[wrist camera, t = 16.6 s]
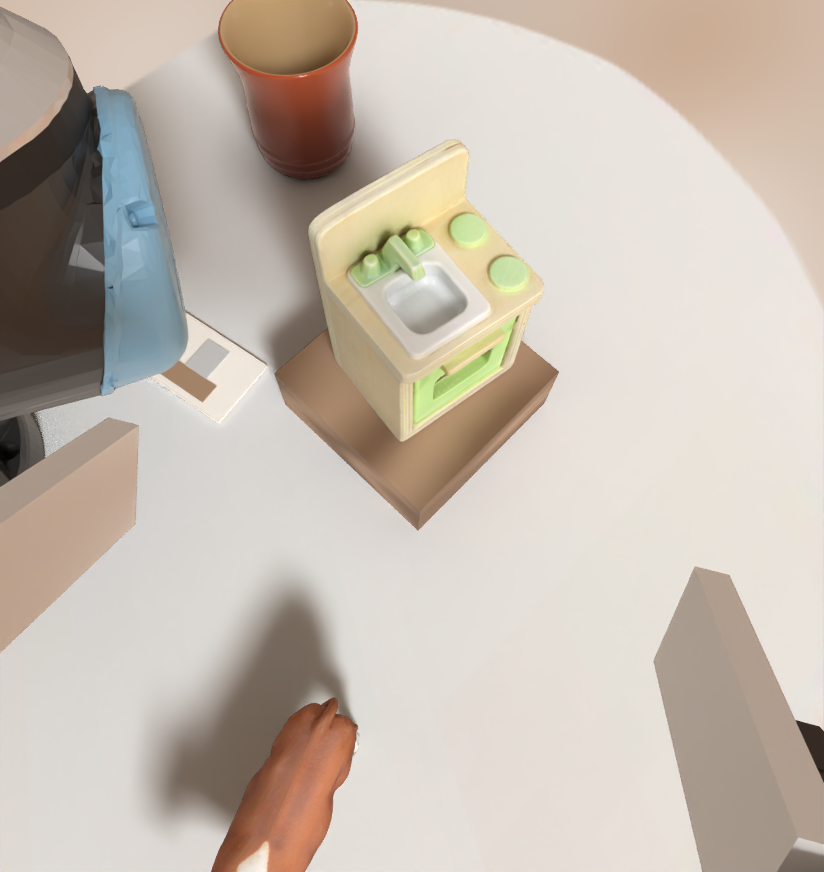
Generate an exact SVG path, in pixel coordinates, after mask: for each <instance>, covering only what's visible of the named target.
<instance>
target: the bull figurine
mask: <svg viewBox="0 0 824 872" xmlns="http://www.w3.org/2000/svg"><path fill="white" fill-rule="evenodd" d="M337 708H338V701H337V699H336V698H331V699H329V700H328V701H326V702H324V703H323V704H322V705H320V704H317V703H311V704H308V705H307V706H305V707H303V708H302V709H300V710H299V711H298V712H296V713H295V714H294V715H292V716H291V717H290V718H289V719H288V721H287V722H286V724H285V726H284V728H283V729H282V731H281V732H280V733H279V735H278V736H277V738H276V739H275V741H274V743H273V746H272V750H271V755H270V757H269V758H268V759H267V761H266V762H265V764H264V765H263V767H262V768H261V769H260V770H259V771H258V772H257V773H256V775H255V776H254V777H253V778H252V780H251V781H250V783H249V785H248V786H247V789H246V791H245V794H244V796H243V799H242V802H241V804H240V806H239V809H238V811H237V813H236V815H235V817H234V819H233V821H232V823H231V826H230V828H229V830H228V833H227V835H226V837H225V839H224V841H223V843H222V845H221V847H220V849H219V851H218V854H217V856H216V859H215V862H214V864H213V867H212V871H211V872H305V870H306V869H307V867H308V866H309V864H310V862H311V860H312V858H313V856H314V854H315V853H316V851H317V849H318V847H319V846H320V845H321V843H322V841H323V840H324V838H325V836H326V834H327V831H328V828H329V825H330V822H331V817H332V810H333V795H334V792H335V790H336V789H337V788H338V787H339V786H341V785H342V784H343V783H344V781H345V780H346V778H347V776H348V774H349V771H350V767H351V762H352V756H353V755H354V754H355V753H356V752H357V750H358V746H359V743H358V739H359V734H358V733H357V732H356V731H357V729H358V726H357V725H356V724H353V723H352V721H351V720H350V719H349V718H348V717H346V716H343V715H339V714H336V712H337Z"/></svg>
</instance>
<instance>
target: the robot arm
mask: <svg viewBox="0 0 824 872" xmlns="http://www.w3.org/2000/svg"><path fill="white" fill-rule="evenodd" d="M100 87H101V86H97V87H93V91H91V92H89V93H88V94H87V93H86V92H85V90H84V89H83V87H82V84H81V82H80V80H79V78H78V76H77V74H76V71H75V69H74V67H73V65H72V62H71V60H70V57H69V56H68V54H67V52H66V51H65V49H64V47H63V45H62V44H61V42H60V41H59V40H58V38H57V37H56V36H55V35H53V34H52V33H51V32H49V31H48V30H47V29H45V28H43V27H41V26H39V25H37V24H35V23H33V22H31V21H29V20H27V19H25V18H22V17H21V16H18V15H16V14H14V13H12V12H10V11H8V10H6V9H4V8H2V7H0V653H1V652H2V651H3V650H4V649H5V648H6V647H7V646H8V645H9V644H10V643H11V642H12V641H13V640H14V639H15V638H16V637H17V636H18V635H19V634H21V633H22V632H23V631H24V630H25V629H26V628H27V627H28V626H29V625H30V624H31V623H32V622H33V621H34V620H35V619H36V618H37V617H38V616H39V615H40V614H41V613H43V612H44V611H45V610H46V609H47V608H48V607H49V606H50V605H51V604H52V603H53V602H54V601H55V600H56V599H57V598H58V597H59V596H60V595H61V594H62V593H63V592H65V591H66V590H67V589H68V588H69V587H70V586H71V585H72V584H73V583H74V582H75V581H76V580H77V579H78V578H79V577H80V576H81V575H82V574H83V573H84V572H85V571H87V570H88V569H89V568H90V567H91V566H92V565H93V564H94V563H95V562H96V561H97V560H98V559H99V558H100V557H101V556H102V555H103V554H104V553H105V552H106V551H107V550H109V549H110V548H111V547H112V546H113V545H114V544H115V543H116V542H117V541H118V540H119V539H120V538H121V537H122V536H123V535H124V534H125V533H126V532H127V531H128V530H129V529H131V528H132V527H133V526H134V525H135V520H136V492H137V464H138V436H139V425H136V424H132V423H128V422H124V421H120V420H116V419H112V418H107V419H105V420H104V421H102V422H101V423H99V424H98V425H96V426H94V427H93V428H91V429H90V430H88V431H87V432H85V433H84V434H82V435H80V436H79V437H77V438H76V439H74V440H73V441H71V442H70V443H68V444H66V445H65V446H63V447H62V448H60V449H59V450H57V451H56V452H54V453H52V454H51V455H49V456H48V457H46V458H45V459H44V448H43V442H42V438H41V434H40V431H39V429H38V426H37V424H36V422H35V419H34V418H33V416H32V414H31V413H32V412H36V411H40V410H44V409H48V408H52V407H56V406H59V405H63V404H67V403H71V402H75V401H79V400H83V399H87V398H91V397H95V396H99V395H100V396H105V395H108V394H111V393H112V392H113V391H114V390H115V389H116V388H119V387H121V386H124V385H127V384H130V383H133V382H136V381H139V380H142V379H145V378H148V377H151V376H154V375H157V374H160V373H163V372H165V371H167V370H168V369H170V368H171V367H173V365H175V364H176V363H177V362H178V360H180V358H181V357H182V355H183V354H184V352H185V350H186V347H187V343H188V325H187V319H186V313H185V307H184V302H183V297H182V292H181V287H180V282H179V277H178V272H177V268H176V263H175V258H174V254H173V249H172V245H171V240H170V236H169V231H168V227H167V222H166V218H165V214H164V210H163V206H162V201H161V197H160V193H159V188H158V184H157V180H156V176H155V172H154V167H153V163H152V159H151V155H150V152H149V148H148V144H147V140H146V136H145V132H144V129H143V126H142V122H141V119H140V117H139V115H138V112H137V108H136V103H135V101H134V99H133V97H132V96H131V95H130V94H129V93H127V92H125V91H123V90H119V89H117V90H109V89H108V88H105V87H101V88H100ZM654 665H655V669H656V674H657V678H658V682H659V687H660V691H661V695H662V700H663V704H664V708H665V713H666V717H667V721H668V725H669V730H670V734H671V738H672V743H673V747H674V751H675V756H676V760H677V764H678V769H679V773H680V777H681V781H682V786H683V790H684V794H685V799H686V803H687V807H688V812H689V816H690V820H691V825H692V829H693V833H694V838H695V842H696V846H697V850H698V855H699V859H700V863H701V868H702V872H824V731H823V730H822V729H821V728H820V727H819V726H815V725H812V724H808V723H804V722H800V721H797V720H795V719H794V716H793V714H792V712H791V710H790V708H789V705H788V703H787V701H786V699H785V697H784V694H783V692H782V690H781V688H780V686H779V683H778V681H777V679H776V677H775V675H774V672H773V670H772V668H771V666H770V664H769V661H768V659H767V657H766V655H765V653H764V650H763V648H762V646H761V644H760V642H759V639H758V637H757V635H756V633H755V630H754V628H753V626H752V624H751V622H750V619H749V617H748V615H747V613H746V611H745V608H744V606H743V604H742V602H741V600H740V597H739V595H738V593H737V591H736V589H735V586H734V584H733V582H732V580H731V578H730V575H727V574H723V573H719V572H715V571H711V570H707V569H703V568H699V567H694V570H693V572H692V574H691V577H690V579H689V581H688V583H687V586H686V588H685V590H684V592H683V595H682V597H681V599H680V602H679V604H678V606H677V608H676V611H675V613H674V615H673V618H672V620H671V622H670V624H669V627H668V629H667V631H666V633H665V636H664V638H663V640H662V643H661V645H660V647H659V649H658V652H657V654H656V656H655V659H654Z"/></svg>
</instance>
